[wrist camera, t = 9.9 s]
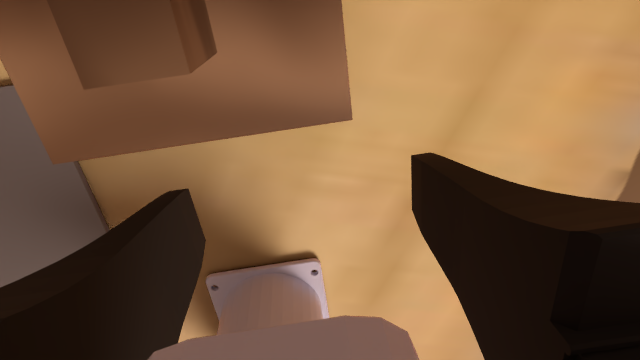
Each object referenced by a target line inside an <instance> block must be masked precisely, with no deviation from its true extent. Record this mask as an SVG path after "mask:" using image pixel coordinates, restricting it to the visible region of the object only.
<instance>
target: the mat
mask: <svg viewBox="0 0 640 360" xmlns="http://www.w3.org/2000/svg"><path fill="white" fill-rule="evenodd" d="M108 231H110V230H109V228H108V226H107V224H106V221H105V219H104V217H103V215H102V213H101V211H100V208H99V206H98V204H97V202H96V200H95V198H94V195H93V193H92V191H91V189H90V187H89V185H88V182H87V180H86V178H85V176H84V174H83V172H82V169H81V167H80V165H79V163H78V161H74V162H67V163H60V164H54V165H53V163H52V161H51V159H50V157H49V155H48V153H47V151H46V149H45V147H44V145H43V143H42V141H41V139H40V137H39V135H38V133H37V131H36V129H35V127H34V125H33V123H32V121H31V119H30V117H29V115H28V113H27V111H26V109H25V107H24V105H23V103H22V101H21V99H20V97H19V95H18V93H17V91H16V89H15V87H14V85H7V86H0V287H3V286H5V285H7V284H10V283H12V282H14V281H17V280H19V279H21V278H23V277H25V276H27V275H30V274H32V273H34V272H36V271H38V270H40V269H42V268H44V267H47V266H49V265H51V264H53V263H55V262H57V261H59V260H61V259H63V258H64V257H66V256H68V255H70V254H72V253H74V252H76V251H77V250H79V249H81V248H83V247H84V246H86V245H88V244H89V243H91V242H93V241H94V240H96V239H97V238H99V237H101V236H102V235H104V234H105V233H107V232H108Z"/></svg>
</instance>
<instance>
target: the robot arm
mask: <svg viewBox="0 0 640 360" xmlns="http://www.w3.org/2000/svg"><path fill="white" fill-rule="evenodd" d="M411 174H412V211H413V213H414V216H415V219H416V221H417V224H418V226H419V229H420V231H421V233H422V235H423V237H424V239H425V241H426V242H427V244H428V246H429V247H430V249H431V251H432V253H433V254H434V256H435V258H436V259H437V261H438V263H439V265H440V266H441V268H442V270H443V271H444V273H445V275H446V276H447V278H448V280H449V282H450V283H451V285H452V287H453V289H454V291H455V292H456V294H457V296H458V298H459V301H460V303H461V305H462V307H463V310H464V312H465V314H466V316H467V319H468V321H469V323H470V325H471V328H472V330H473V333H474V335H475V337H476V340H477V342H478V345H479V347H480V349H481V352H482V354H483V357H484V359H485V360H640V203H631V202H619V201H610V200H600V199H592V198H585V197H578V196H572V195H566V194H561V193H555V192H550V191H545V190H540V189H536V188H532V187H528V186H524V185H520V184H517V183H513V182H510V181H507V180H504V179H501V178H498V177H495V176H492V175H489V174H486V173H483V172H480V171H478V170H475V169H473V168H470V167H468V166H465V165H463V164H460V163H458V162H455V161H453V160H450V159H448V158H445V157H443V156H440V155H437V154H434V153H424V154H417V155H411ZM205 241H206V240H205V237H204V234H203V231H202V228H201V225H200V222H199V219H198V216H197V213H196V210H195V207H194V204H193V201H192V198H191V195H190V192H189V189H182V190H175V191H169V192H167V193H165V194H163V195H161V196H160V197H158V198H157V199H155V200H154V201H152V202H151V203H149V204H148V205H146V206H145V207H143V208H142V209H141V210H139V211H138V212H136V213H135V214H133V215H132V216H131V217H129V218H128V219H126V220H125V221H123V222H122V223H120V224H119V225H117V226H116V227H114V228H113V229H111V230H110V231H108V232H107V233H105V234H104V235H102V236H101V237H99V238H97V239H96V240H94V241H93V242H91V243H89V244H88V245H86V246H84V247H83V248H81V249H79V250H77V251H76V252H74V253H72V254H70V255H68V256H66V257H64V258H63V259H61V260H59V261H57V262H55V263H53V264H51V265H49V266H47V267H44V268H42V269H40V270H38V271H36V272H34V273H32V274H30V275H27V276H25V277H23V278H21V279H19V280H17V281H14V282H12V283H10V284H7V285H5V286H3V287H0V360H419V358H418V355H417V353H416V350H415V348H414V346H413V343H412V341H411V339H410V336H409V334H408V332H407V331H405V330H403V329H401V328H399V327H398V326H396V325H394V324H392V323H390V322H388V321H386V320H385V319H383V318H380V317H366V316H339V317H332V318H329V313H328V306H327V300H326V294H325V288H324V282H323V276H322V270H321V264H320V261H319V260H318V259H316V258H311V259H304V260H298V261H291V262H285V263H278V264H271V265H265V266H258V267H252V268H245V269H239V270H232V271H226V272H219V273H213V274H209V275H208V276H207V278H206V285H207V288H208V291H209V294H210V297H211V299H212V302H213V305H214V308H215V311H216V314H217V317H218V319H219V326H218V331H217V335H213V336H206V337H200V338H193V339H188V340H185V341H183V342H180V343H178V340H179V336H180V333H181V329H182V326H183V322H184V319H185V316H186V313H187V310H188V307H189V304H190V301H191V298H192V295H193V292H194V289H195V286H196V283H197V280H198V276H199V273H200V270H201V267H202V261H203V255H204V248H205ZM312 270H317V271H316V272H312ZM213 285H216V286H218V287H214V286H213Z"/></svg>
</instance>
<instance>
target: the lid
mask: <svg viewBox="0 0 640 360" xmlns="http://www.w3.org/2000/svg"><path fill="white" fill-rule="evenodd" d="M0 59H1V61H2V63H3V65H4V67H5V69H6V71H7V73H8V75H9V77H10V79H11V81H12V83H13V85H14V87H15V89H16V91H17V93H18V95H19V97H20V99H21V101H22V103H23V105H24V107H25V109H26V111H27V113H28V115H29V117H30V119H31V121H32V123H33V125H34V127H35V129H36V131H37V133H38V135H39V137H40V139H41V141H42V143H43V145H44V147H45V149H46V151H47V153H48V155H49V157H50V159H51V161H52V163H53V165H54V164H60V163H67V162H74V161H80V160H87V159H94V158H100V157H107V156H114V155H120V154H127V153H134V152H141V151H147V150H154V149H161V148H167V147H174V146H181V145H187V144H194V143H201V142H207V141H214V140H221V139H228V138H234V137H241V136H248V135H254V134H261V133H268V132H274V131H281V130H288V129H294V128H301V127H308V126H315V125H321V124H328V123H335V122H341V121H348V120H352V109H351V98H350V88H349V77H348V66H347V56H346V45H345V34H344V24H343V13H342V2H341V0H0Z"/></svg>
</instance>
